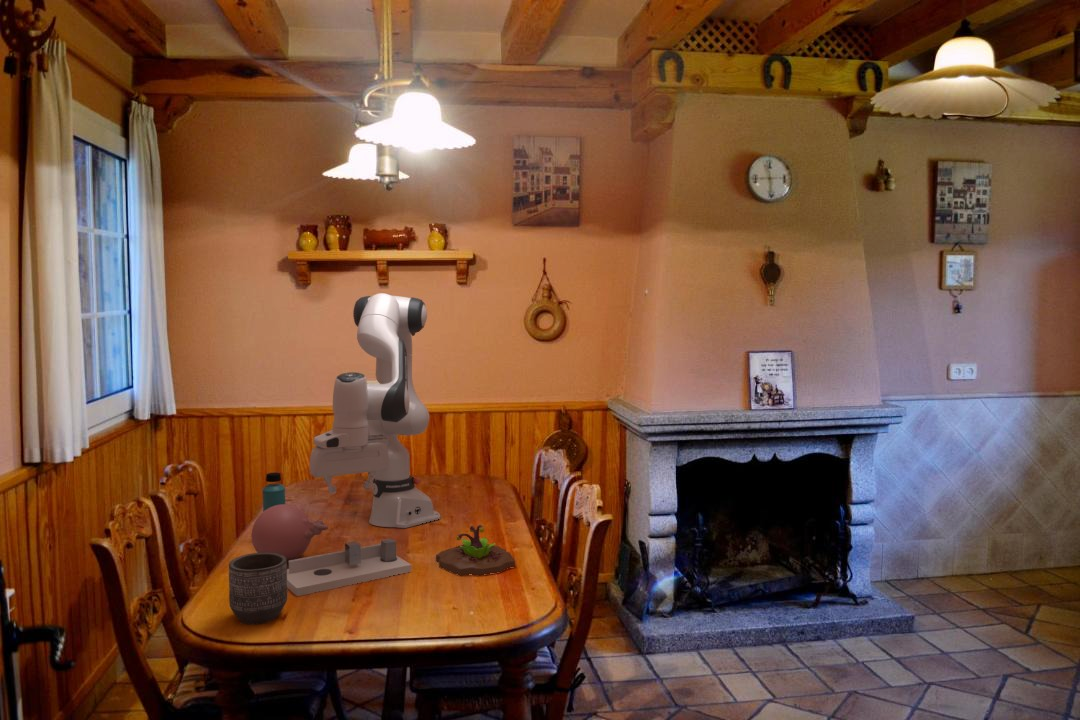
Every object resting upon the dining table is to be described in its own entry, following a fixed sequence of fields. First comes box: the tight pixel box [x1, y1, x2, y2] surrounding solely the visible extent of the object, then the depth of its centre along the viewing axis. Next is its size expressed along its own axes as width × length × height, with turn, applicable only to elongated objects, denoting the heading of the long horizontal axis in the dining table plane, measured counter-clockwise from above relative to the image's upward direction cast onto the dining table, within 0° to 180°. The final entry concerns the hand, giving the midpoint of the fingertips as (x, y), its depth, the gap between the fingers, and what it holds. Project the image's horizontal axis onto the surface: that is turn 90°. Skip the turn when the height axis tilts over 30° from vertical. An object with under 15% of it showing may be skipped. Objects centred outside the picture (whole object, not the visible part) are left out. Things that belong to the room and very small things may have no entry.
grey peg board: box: [287, 538, 412, 597], centre depth 205 cm, size 30×14×7 cm, turn 126°
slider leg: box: [344, 540, 362, 565], centre depth 207 cm, size 3×4×5 cm, turn 36°
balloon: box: [251, 504, 329, 563], centre depth 215 cm, size 15×20×15 cm
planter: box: [228, 552, 288, 625], centre depth 178 cm, size 12×12×13 cm
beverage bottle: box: [262, 471, 287, 512], centre depth 232 cm, size 6×7×20 cm
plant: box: [435, 524, 516, 576], centre depth 216 cm, size 20×20×11 cm
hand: (350, 490), depth 205 cm, fingers open, 8 cm apart
